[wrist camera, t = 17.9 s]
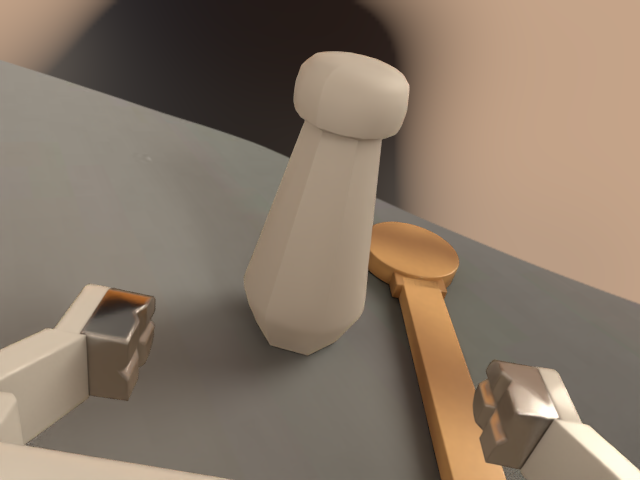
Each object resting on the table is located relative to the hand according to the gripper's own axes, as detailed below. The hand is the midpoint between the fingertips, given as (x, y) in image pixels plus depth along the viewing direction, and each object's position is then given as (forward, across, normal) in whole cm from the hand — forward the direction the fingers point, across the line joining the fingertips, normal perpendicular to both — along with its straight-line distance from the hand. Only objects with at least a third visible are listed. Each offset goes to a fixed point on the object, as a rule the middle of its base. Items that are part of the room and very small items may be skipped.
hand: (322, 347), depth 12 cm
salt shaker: (+10, 0, +9) cm, 14 cm away
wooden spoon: (+10, -7, +9) cm, 15 cm away
